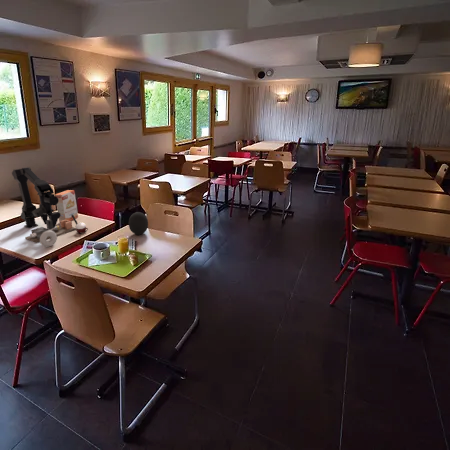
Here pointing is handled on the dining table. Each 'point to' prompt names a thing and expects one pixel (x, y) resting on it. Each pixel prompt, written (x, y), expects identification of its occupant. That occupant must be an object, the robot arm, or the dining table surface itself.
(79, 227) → the cocoa
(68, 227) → the socket block
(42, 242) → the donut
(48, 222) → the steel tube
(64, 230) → the base board
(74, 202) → the cracker box
